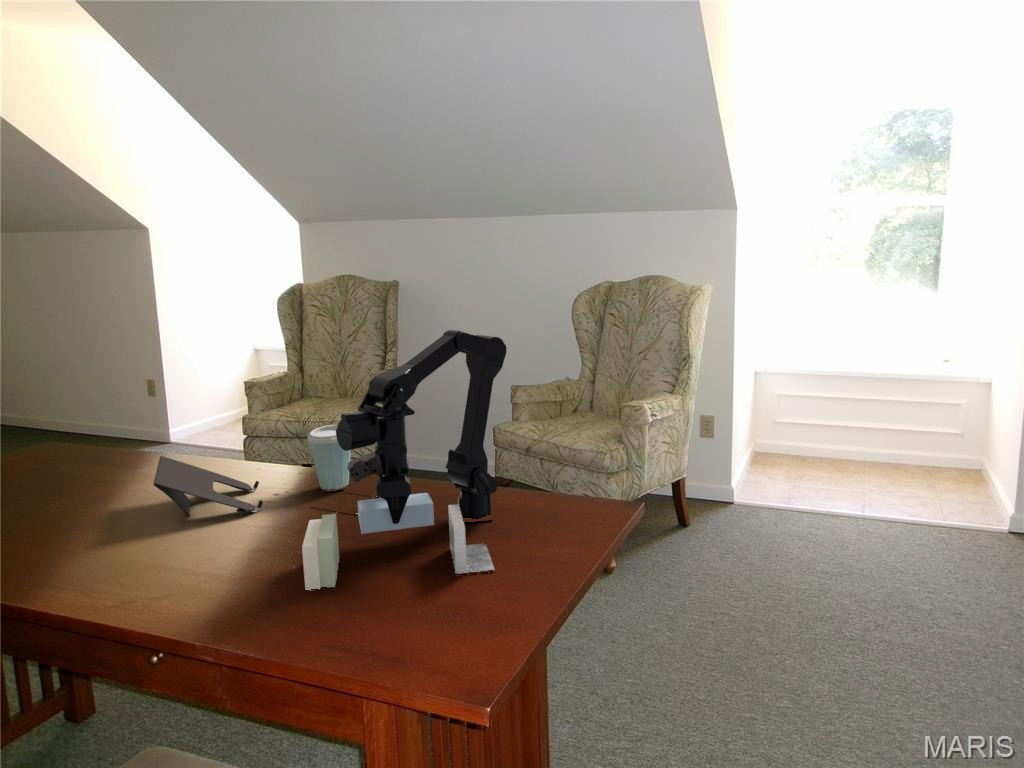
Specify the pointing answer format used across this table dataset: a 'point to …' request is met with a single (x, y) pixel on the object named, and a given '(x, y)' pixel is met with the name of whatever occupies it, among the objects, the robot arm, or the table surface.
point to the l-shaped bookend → (465, 546)
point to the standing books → (321, 553)
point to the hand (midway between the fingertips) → (395, 517)
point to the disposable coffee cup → (329, 458)
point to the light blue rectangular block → (379, 519)
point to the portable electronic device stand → (197, 485)
